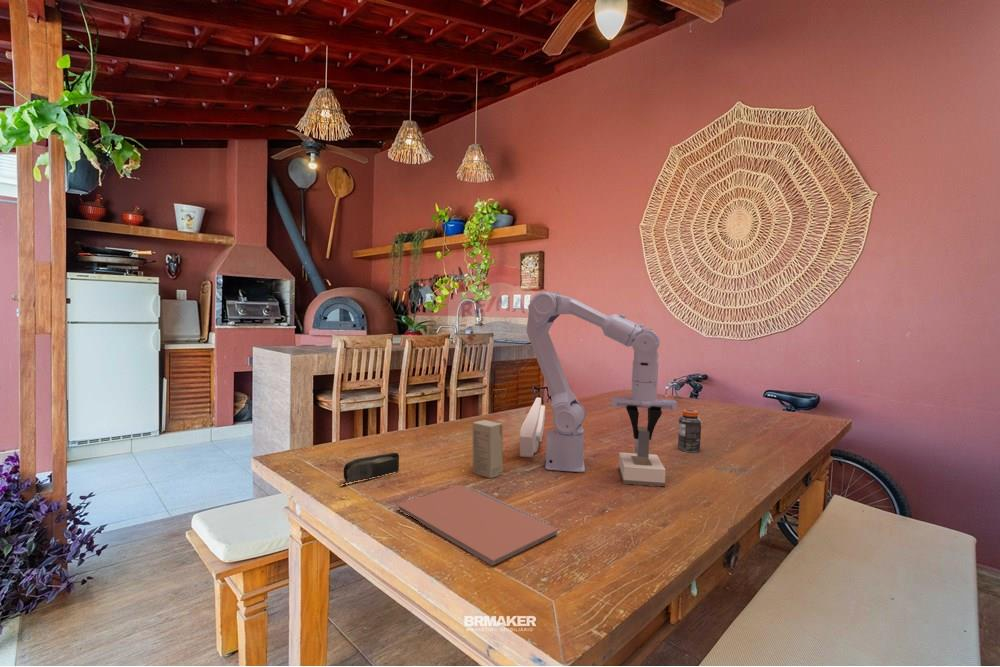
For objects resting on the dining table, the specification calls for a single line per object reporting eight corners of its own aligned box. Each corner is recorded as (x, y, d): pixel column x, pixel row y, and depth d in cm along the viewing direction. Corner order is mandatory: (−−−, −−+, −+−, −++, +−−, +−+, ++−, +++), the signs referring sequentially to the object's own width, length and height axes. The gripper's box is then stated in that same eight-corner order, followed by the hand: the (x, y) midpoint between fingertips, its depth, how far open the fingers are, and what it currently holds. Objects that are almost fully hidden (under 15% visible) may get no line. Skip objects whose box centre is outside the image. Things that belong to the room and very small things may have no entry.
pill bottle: (701, 449, 139) (703, 410, 139) (697, 454, 134) (699, 413, 134) (680, 445, 143) (682, 407, 142) (675, 450, 138) (677, 410, 137)
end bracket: (637, 456, 112) (638, 430, 112) (634, 451, 117) (635, 426, 117) (648, 457, 112) (649, 431, 112) (645, 451, 117) (646, 426, 117)
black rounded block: (394, 450, 117) (336, 462, 106) (401, 452, 115) (343, 465, 104) (393, 470, 117) (335, 484, 106) (401, 473, 115) (342, 488, 104)
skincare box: (503, 474, 115) (504, 423, 114) (490, 479, 111) (491, 426, 111) (483, 468, 119) (485, 418, 118) (471, 472, 116) (472, 421, 115)
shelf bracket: (547, 436, 150) (547, 398, 147) (536, 480, 126) (536, 435, 123) (530, 434, 151) (530, 397, 148) (516, 478, 127) (515, 434, 124)
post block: (623, 484, 110) (624, 466, 110) (618, 468, 121) (619, 452, 121) (664, 487, 109) (665, 469, 109) (656, 470, 120) (656, 454, 120)
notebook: (562, 536, 86) (563, 525, 86) (493, 571, 74) (493, 558, 74) (464, 491, 105) (464, 482, 105) (396, 513, 94) (396, 503, 94)
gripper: (614, 382, 111) (612, 440, 111) (680, 385, 109) (677, 445, 109) (611, 377, 118) (609, 432, 118) (674, 380, 116) (671, 436, 116)
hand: (642, 438), depth 114 cm, fingers closed on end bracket, 2 cm apart
